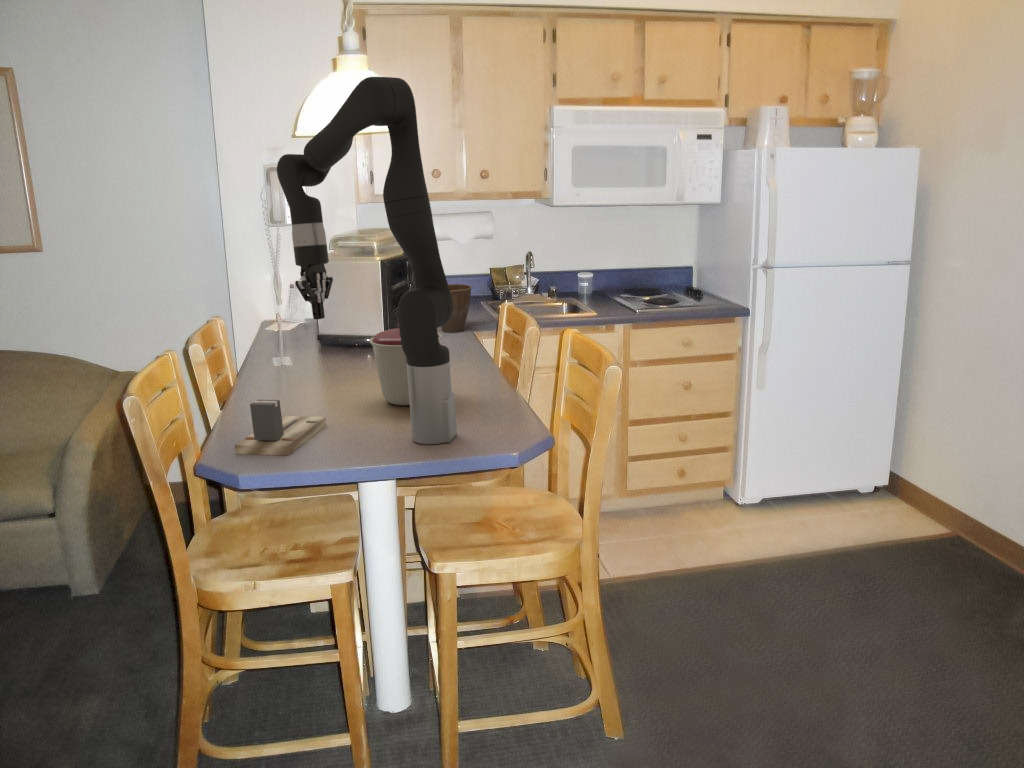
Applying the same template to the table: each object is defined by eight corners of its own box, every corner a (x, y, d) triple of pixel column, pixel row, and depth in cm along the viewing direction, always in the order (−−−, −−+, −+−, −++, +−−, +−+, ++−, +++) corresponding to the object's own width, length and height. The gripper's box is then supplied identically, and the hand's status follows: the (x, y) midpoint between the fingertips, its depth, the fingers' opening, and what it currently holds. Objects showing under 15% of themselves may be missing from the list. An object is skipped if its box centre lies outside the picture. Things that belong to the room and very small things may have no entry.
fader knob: (284, 435, 169) (279, 399, 167) (276, 440, 166) (272, 404, 164) (262, 434, 170) (257, 399, 168) (254, 440, 167) (249, 403, 164)
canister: (459, 396, 202) (455, 316, 196) (413, 414, 188) (407, 329, 182) (407, 387, 212) (401, 311, 206) (360, 404, 198) (352, 323, 192)
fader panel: (326, 425, 183) (325, 416, 182) (288, 455, 164) (287, 445, 163) (279, 423, 185) (277, 415, 184) (235, 453, 166) (234, 444, 165)
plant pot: (480, 331, 282) (478, 287, 278) (443, 336, 275) (440, 291, 271) (462, 325, 294) (459, 283, 290) (426, 330, 287) (423, 287, 283)
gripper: (308, 243, 172) (318, 321, 175) (338, 242, 184) (347, 315, 187) (279, 246, 174) (289, 323, 177) (311, 244, 186) (320, 316, 190)
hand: (319, 318), depth 182 cm, fingers closed
